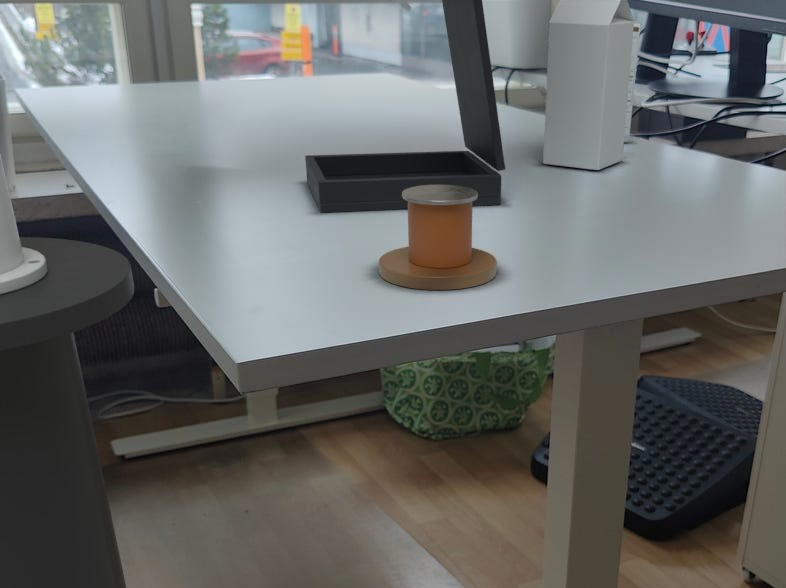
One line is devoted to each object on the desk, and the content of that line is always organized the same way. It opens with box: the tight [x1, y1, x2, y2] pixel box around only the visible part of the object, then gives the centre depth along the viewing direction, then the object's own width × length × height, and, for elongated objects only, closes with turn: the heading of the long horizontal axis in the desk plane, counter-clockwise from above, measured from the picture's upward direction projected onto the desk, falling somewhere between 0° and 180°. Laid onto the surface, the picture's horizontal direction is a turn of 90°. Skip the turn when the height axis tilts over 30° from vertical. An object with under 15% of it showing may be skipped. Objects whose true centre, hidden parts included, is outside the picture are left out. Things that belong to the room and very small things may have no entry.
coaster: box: [378, 246, 498, 291], centre depth 73 cm, size 9×9×1 cm
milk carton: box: [542, 0, 635, 171], centre depth 108 cm, size 7×7×19 cm
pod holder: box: [304, 150, 502, 213], centre depth 97 cm, size 18×14×3 cm
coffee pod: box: [402, 185, 478, 268], centre depth 72 cm, size 6×6×5 cm
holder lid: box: [441, 0, 506, 172], centre depth 93 cm, size 18×14×1 cm
